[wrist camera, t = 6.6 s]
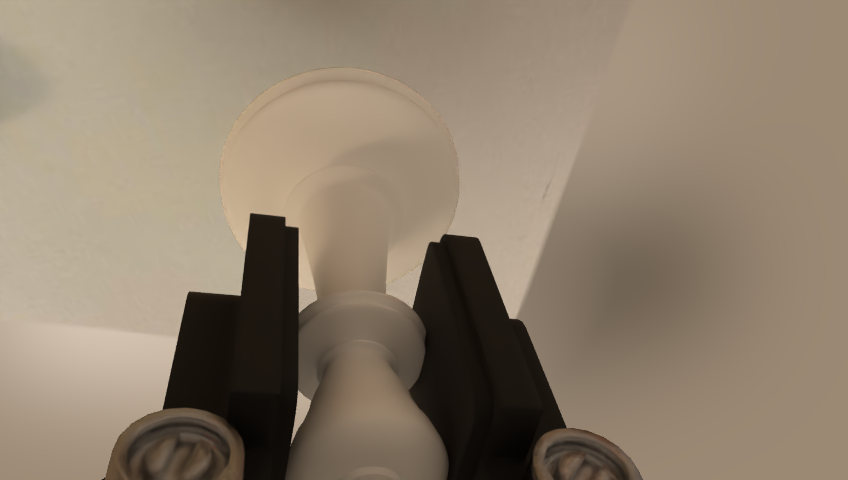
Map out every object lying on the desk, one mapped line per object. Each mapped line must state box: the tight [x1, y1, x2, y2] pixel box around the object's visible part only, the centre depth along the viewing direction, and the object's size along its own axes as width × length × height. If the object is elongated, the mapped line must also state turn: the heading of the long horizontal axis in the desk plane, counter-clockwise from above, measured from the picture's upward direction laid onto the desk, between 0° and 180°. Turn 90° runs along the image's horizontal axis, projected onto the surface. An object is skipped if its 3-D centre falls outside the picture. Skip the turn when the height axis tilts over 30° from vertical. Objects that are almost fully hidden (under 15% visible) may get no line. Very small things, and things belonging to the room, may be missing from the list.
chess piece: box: [220, 68, 459, 480], centre depth 12 cm, size 5×5×10 cm
